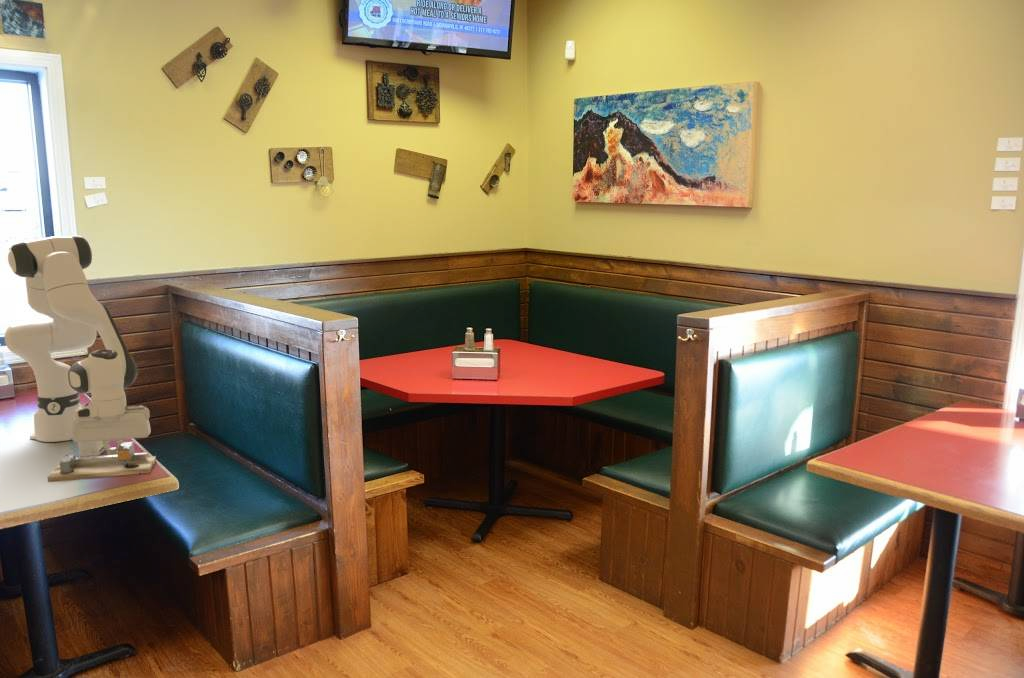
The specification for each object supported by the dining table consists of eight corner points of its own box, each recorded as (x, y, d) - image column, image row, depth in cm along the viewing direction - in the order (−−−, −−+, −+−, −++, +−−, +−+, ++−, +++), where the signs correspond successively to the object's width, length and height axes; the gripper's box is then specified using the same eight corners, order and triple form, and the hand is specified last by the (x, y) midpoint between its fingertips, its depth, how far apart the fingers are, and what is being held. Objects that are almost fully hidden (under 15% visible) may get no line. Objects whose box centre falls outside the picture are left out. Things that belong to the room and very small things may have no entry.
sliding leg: (123, 460, 239) (122, 442, 238) (135, 459, 240) (133, 441, 239) (118, 468, 232) (117, 449, 231) (130, 467, 233) (128, 448, 232)
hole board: (59, 467, 238) (59, 463, 237) (156, 459, 244) (155, 456, 244) (47, 481, 226) (47, 477, 226) (149, 472, 233) (148, 468, 232)
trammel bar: (65, 465, 236) (64, 454, 235) (147, 458, 241) (146, 447, 241) (57, 474, 228) (56, 462, 228) (142, 467, 234) (141, 456, 233)
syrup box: (99, 456, 248) (95, 409, 246) (78, 457, 247) (74, 410, 245) (105, 450, 254) (101, 404, 251) (85, 451, 253) (80, 405, 250)
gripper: (150, 402, 238) (154, 448, 240) (73, 407, 233) (78, 453, 235) (146, 407, 232) (150, 454, 234) (67, 412, 227) (72, 460, 229)
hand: (113, 454), depth 234 cm, fingers closed
